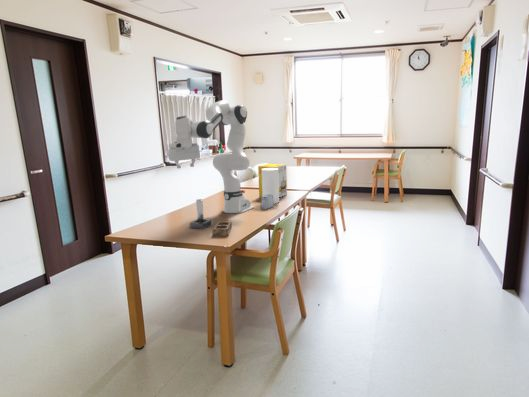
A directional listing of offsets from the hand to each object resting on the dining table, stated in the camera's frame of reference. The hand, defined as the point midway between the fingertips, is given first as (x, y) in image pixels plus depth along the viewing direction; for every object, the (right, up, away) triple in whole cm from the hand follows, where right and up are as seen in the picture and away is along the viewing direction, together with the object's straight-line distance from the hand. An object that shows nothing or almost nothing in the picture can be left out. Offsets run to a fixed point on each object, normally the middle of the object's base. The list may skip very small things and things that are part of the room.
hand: (185, 167), depth 225 cm
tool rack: (+24, -37, -13) cm, 46 cm away
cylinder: (+52, -21, +58) cm, 81 cm away
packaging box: (+54, -17, +79) cm, 97 cm away
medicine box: (+49, -25, +41) cm, 69 cm away
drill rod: (+9, -35, 0) cm, 36 cm away
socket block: (+9, -35, 0) cm, 36 cm away
